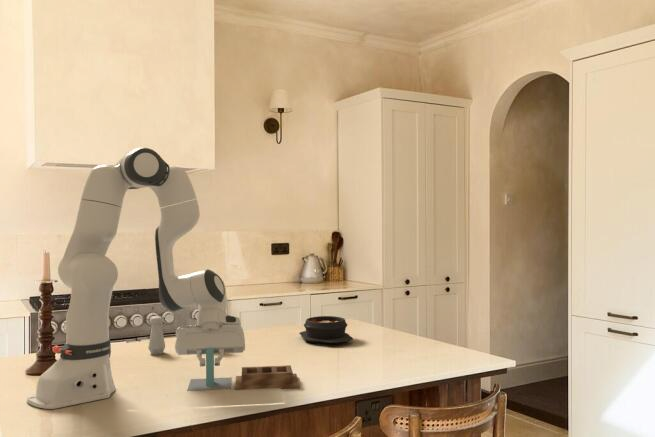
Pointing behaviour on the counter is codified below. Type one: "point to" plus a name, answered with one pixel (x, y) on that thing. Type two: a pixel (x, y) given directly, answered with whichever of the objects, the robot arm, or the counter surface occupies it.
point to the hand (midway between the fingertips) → (209, 365)
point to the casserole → (326, 330)
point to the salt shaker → (156, 336)
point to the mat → (201, 385)
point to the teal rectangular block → (209, 366)
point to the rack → (267, 378)
